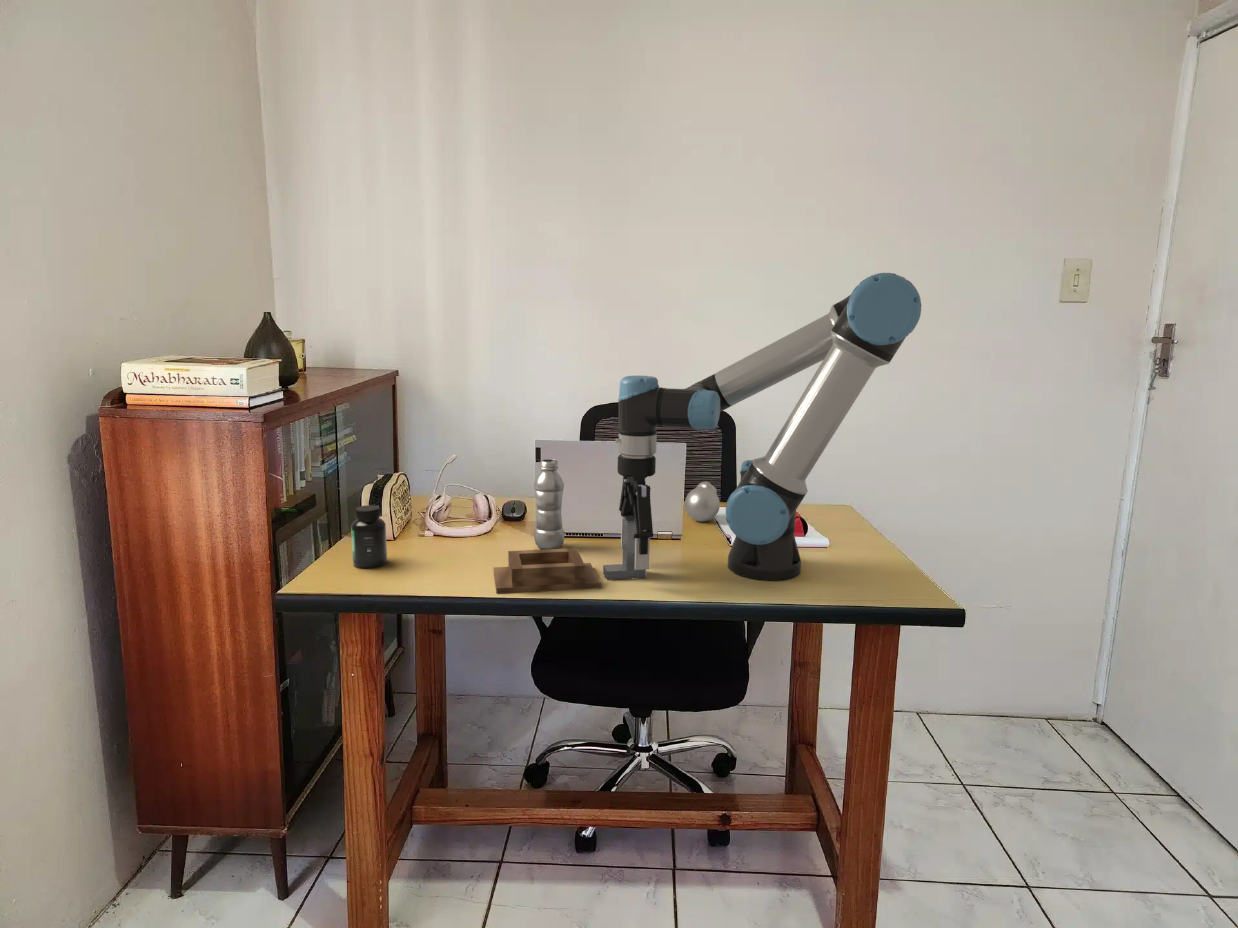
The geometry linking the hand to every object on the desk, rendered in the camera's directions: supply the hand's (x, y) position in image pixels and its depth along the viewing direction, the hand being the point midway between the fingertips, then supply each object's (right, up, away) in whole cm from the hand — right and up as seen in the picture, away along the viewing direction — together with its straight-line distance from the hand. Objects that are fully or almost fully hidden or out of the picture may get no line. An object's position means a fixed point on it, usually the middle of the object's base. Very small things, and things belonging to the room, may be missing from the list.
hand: (634, 558), depth 161 cm
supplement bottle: (-55, -2, +5) cm, 55 cm away
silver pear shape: (+18, +4, +41) cm, 45 cm away
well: (-18, -4, -3) cm, 18 cm away
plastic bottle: (-19, 0, +17) cm, 25 cm away
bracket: (-2, -4, 0) cm, 4 cm away
